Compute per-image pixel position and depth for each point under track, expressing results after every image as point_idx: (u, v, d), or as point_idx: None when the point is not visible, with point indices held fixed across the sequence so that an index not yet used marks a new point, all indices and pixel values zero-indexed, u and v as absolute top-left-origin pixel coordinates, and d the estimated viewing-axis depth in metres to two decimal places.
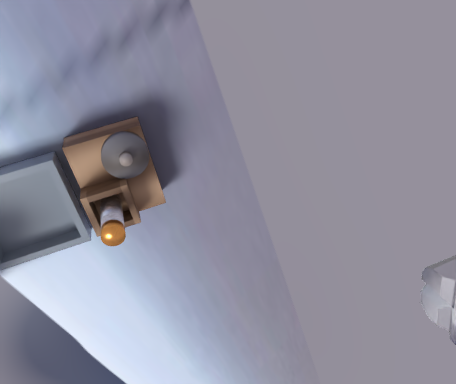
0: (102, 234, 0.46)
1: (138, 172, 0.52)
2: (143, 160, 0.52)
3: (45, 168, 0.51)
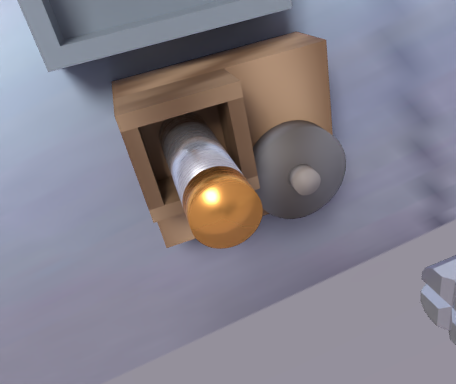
0: (239, 187, 0.14)
1: (264, 200, 0.24)
2: (287, 208, 0.25)
3: None
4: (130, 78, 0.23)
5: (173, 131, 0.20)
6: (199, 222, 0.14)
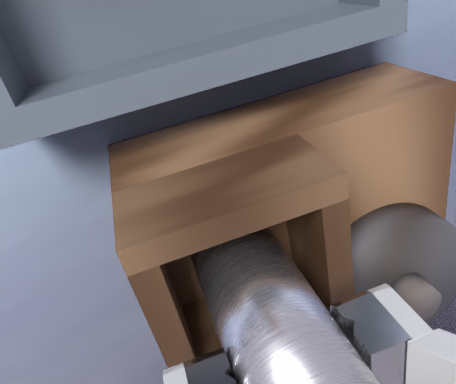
0: None
1: None
2: None
3: None
4: (138, 141, 0.15)
5: (221, 256, 0.11)
6: None
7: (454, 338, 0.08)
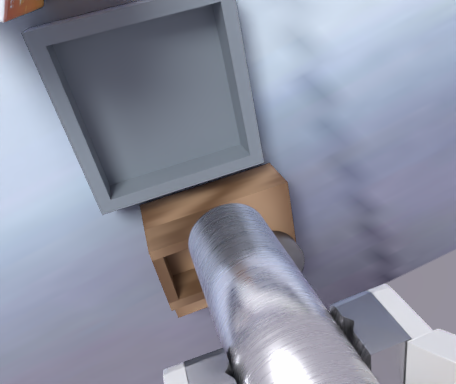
0: None
1: None
2: None
3: (252, 152, 0.31)
4: (153, 203, 0.34)
5: (221, 256, 0.11)
6: None
7: (454, 338, 0.08)
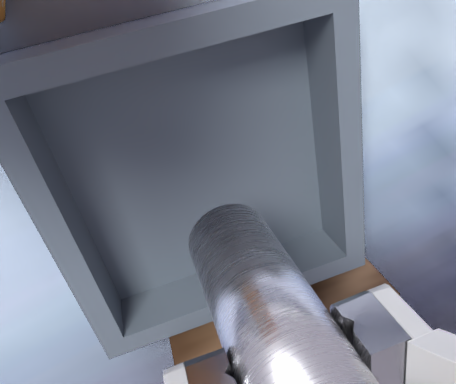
0: None
1: None
2: None
3: (350, 251, 0.19)
4: None
5: (221, 256, 0.11)
6: None
7: (454, 338, 0.08)
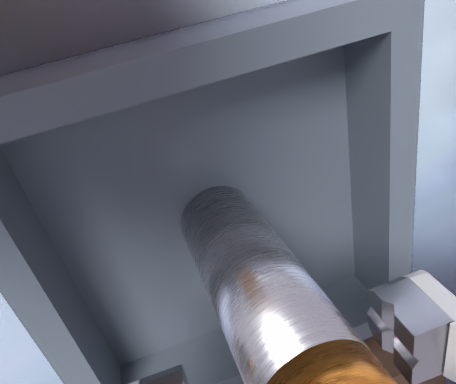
0: None
1: None
2: None
3: None
4: None
5: (211, 229, 0.12)
6: None
7: None
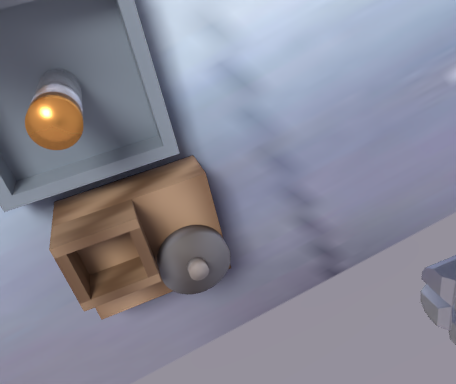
0: (59, 101, 0.20)
1: (170, 284, 0.33)
2: (189, 287, 0.34)
3: (165, 142, 0.30)
4: (68, 200, 0.32)
5: (41, 80, 0.26)
6: (33, 128, 0.20)
7: None
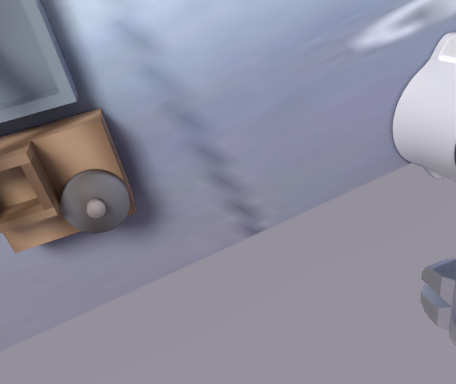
0: None
1: (72, 221, 0.37)
2: (92, 226, 0.38)
3: (61, 90, 0.34)
4: None
5: None
6: None
7: None
